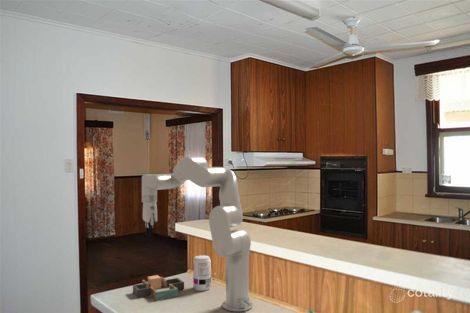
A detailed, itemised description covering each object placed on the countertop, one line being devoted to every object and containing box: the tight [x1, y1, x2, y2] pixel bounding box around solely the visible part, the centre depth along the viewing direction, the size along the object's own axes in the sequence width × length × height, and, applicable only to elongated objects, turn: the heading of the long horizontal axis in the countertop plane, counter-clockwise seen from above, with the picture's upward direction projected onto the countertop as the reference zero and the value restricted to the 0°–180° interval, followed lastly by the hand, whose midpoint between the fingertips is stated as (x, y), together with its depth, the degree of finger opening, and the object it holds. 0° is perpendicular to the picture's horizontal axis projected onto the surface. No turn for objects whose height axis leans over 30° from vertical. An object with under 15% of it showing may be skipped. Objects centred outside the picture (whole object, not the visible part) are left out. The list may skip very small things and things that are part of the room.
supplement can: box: [192, 254, 212, 292], centre depth 178 cm, size 8×8×15 cm
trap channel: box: [132, 276, 185, 302], centre depth 174 cm, size 21×22×4 cm
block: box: [147, 274, 162, 290], centre depth 180 cm, size 5×5×5 cm
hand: (149, 235), depth 187 cm, fingers closed
